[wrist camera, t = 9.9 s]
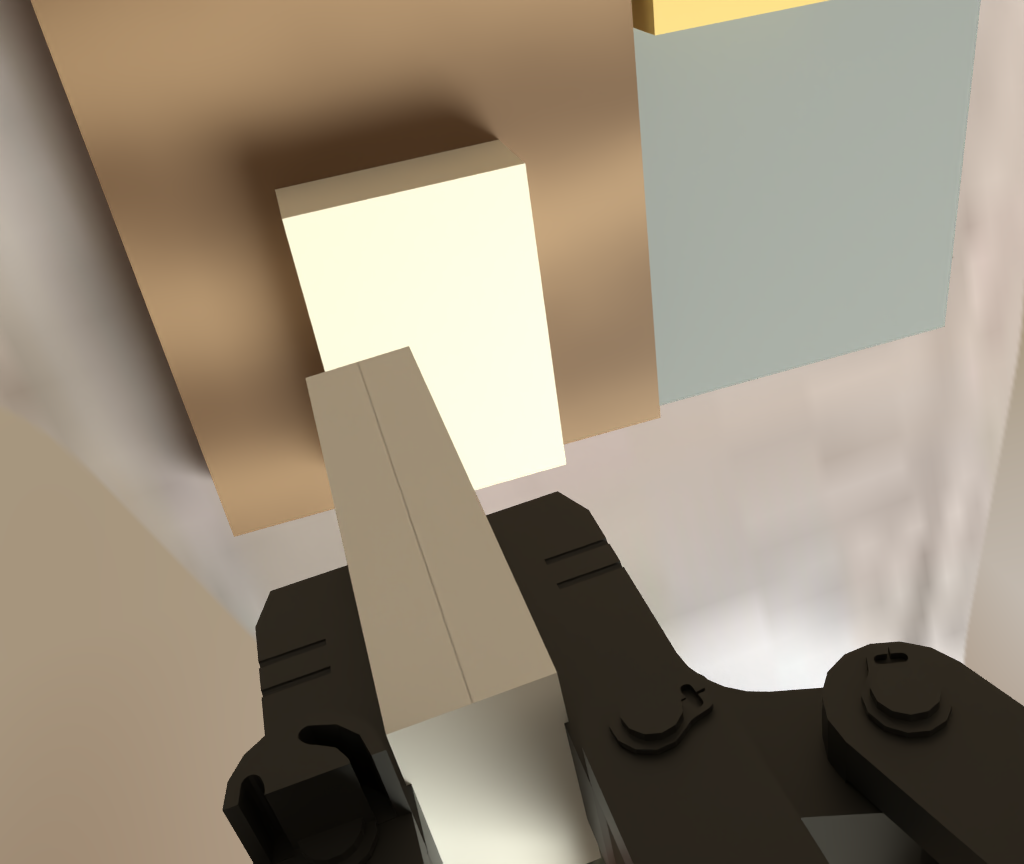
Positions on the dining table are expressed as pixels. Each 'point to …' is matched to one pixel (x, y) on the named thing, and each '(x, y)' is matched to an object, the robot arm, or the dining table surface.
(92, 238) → the dining table surface
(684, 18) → the mustard tile
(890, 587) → the dining table surface
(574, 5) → the walnut deck
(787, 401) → the dining table surface
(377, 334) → the ivory tile
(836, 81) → the slate mat
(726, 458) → the dining table surface
